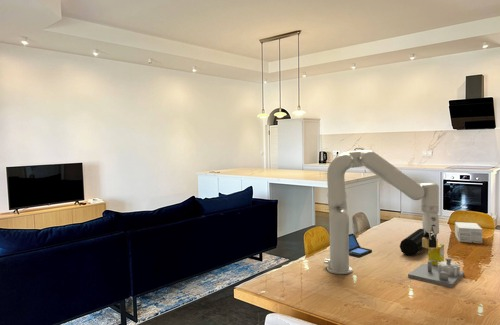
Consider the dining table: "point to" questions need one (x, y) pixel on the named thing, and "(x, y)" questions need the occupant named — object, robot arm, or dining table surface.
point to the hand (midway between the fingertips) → (429, 244)
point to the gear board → (438, 273)
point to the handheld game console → (356, 247)
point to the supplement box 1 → (436, 255)
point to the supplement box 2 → (468, 232)
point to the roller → (412, 243)
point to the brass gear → (426, 243)
